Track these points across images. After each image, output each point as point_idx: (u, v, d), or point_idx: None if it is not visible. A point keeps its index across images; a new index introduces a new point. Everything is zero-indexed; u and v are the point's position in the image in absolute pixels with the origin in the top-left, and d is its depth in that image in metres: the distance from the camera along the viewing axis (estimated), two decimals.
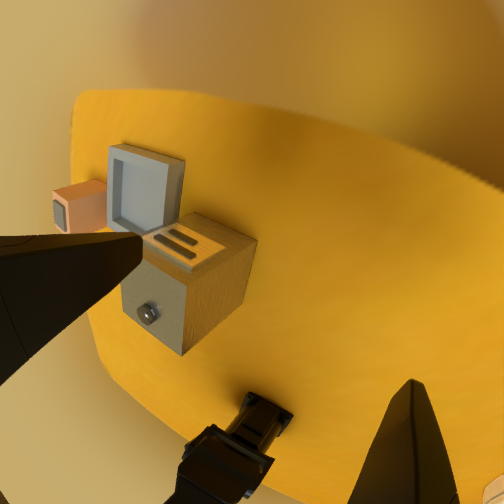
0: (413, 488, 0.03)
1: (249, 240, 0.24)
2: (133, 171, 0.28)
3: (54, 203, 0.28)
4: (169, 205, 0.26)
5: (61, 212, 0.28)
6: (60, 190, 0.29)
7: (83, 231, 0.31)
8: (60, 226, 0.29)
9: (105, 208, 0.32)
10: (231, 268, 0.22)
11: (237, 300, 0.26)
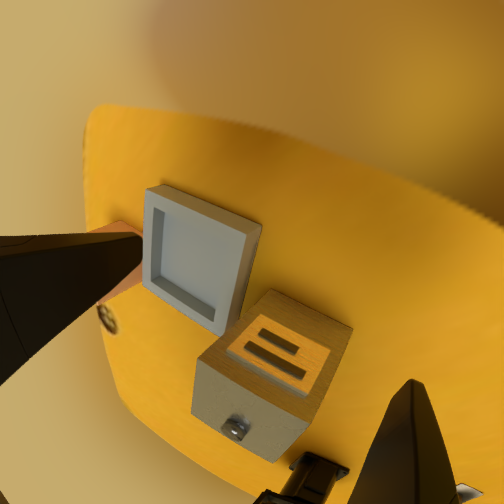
0: (413, 488, 0.03)
1: (345, 329, 0.19)
2: (181, 225, 0.23)
3: None
4: (240, 280, 0.21)
5: None
6: None
7: (112, 292, 0.26)
8: None
9: None
10: None
11: None
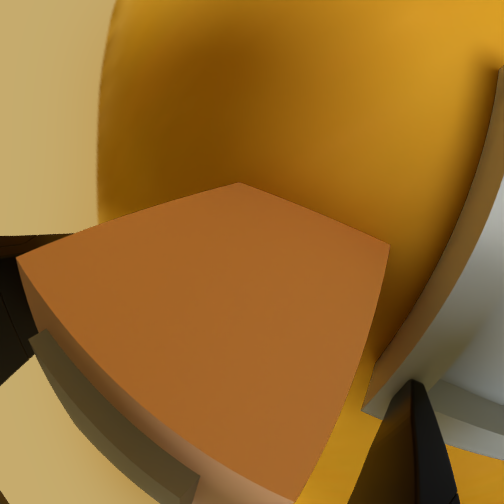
0: (413, 488, 0.03)
1: None
2: None
3: (44, 367, 0.03)
4: None
5: (161, 492, 0.03)
6: (76, 261, 0.04)
7: None
8: (132, 480, 0.04)
9: None
10: None
11: None
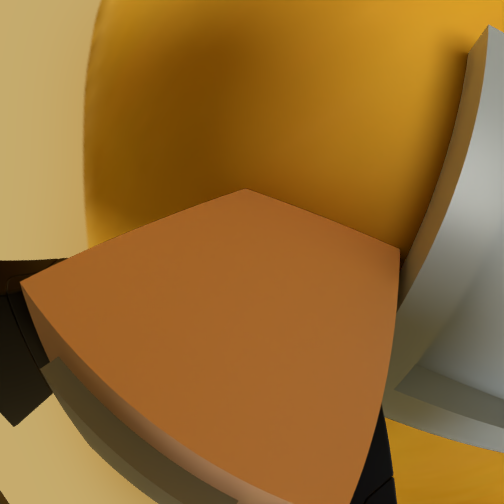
0: None
1: None
2: None
3: (59, 397, 0.03)
4: None
5: None
6: (87, 283, 0.04)
7: None
8: (154, 499, 0.04)
9: None
10: None
11: None
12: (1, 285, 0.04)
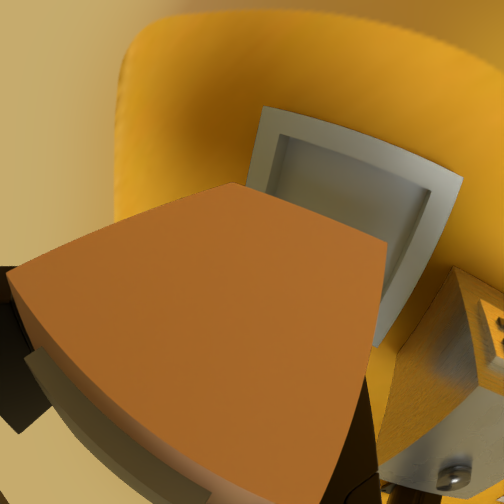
0: None
1: None
2: (319, 169, 0.14)
3: (42, 386, 0.03)
4: None
5: None
6: (69, 274, 0.04)
7: None
8: (138, 492, 0.04)
9: None
10: None
11: None
12: (5, 292, 0.04)
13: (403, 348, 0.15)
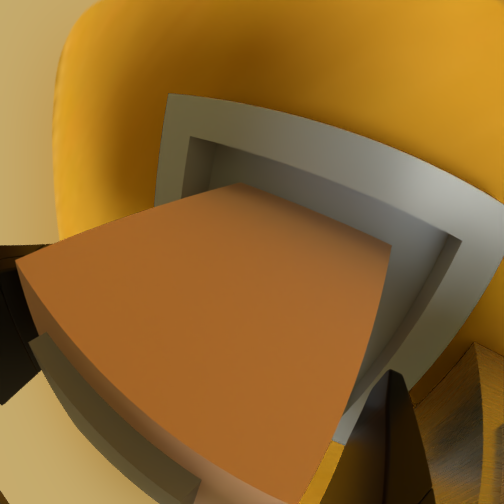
0: (383, 479, 0.03)
1: None
2: None
3: (44, 370, 0.03)
4: None
5: (162, 495, 0.03)
6: (75, 263, 0.04)
7: None
8: (133, 482, 0.04)
9: None
10: None
11: None
12: None
13: None
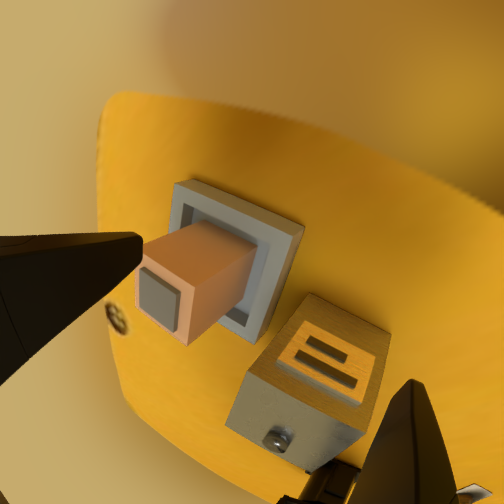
0: (413, 488, 0.03)
1: (384, 335, 0.18)
2: (212, 223, 0.22)
3: (143, 275, 0.17)
4: (279, 284, 0.20)
5: (171, 301, 0.16)
6: (153, 248, 0.17)
7: (206, 326, 0.19)
8: (159, 319, 0.17)
9: (239, 280, 0.21)
10: None
11: None
12: None
13: None
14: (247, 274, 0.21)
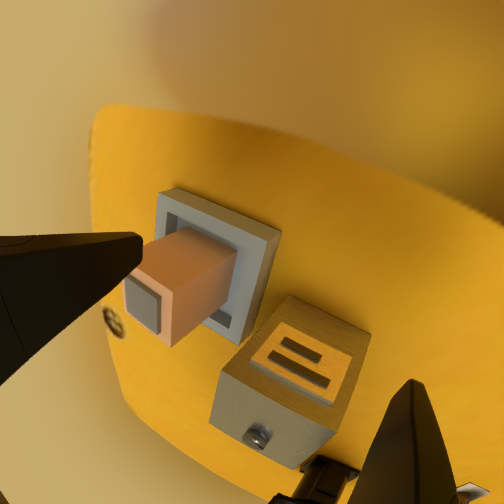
0: (413, 488, 0.03)
1: (364, 335, 0.19)
2: None
3: (128, 281, 0.17)
4: (258, 287, 0.21)
5: (153, 305, 0.17)
6: None
7: (189, 328, 0.20)
8: (144, 322, 0.18)
9: (221, 284, 0.21)
10: None
11: None
12: None
13: None
14: (228, 278, 0.22)
